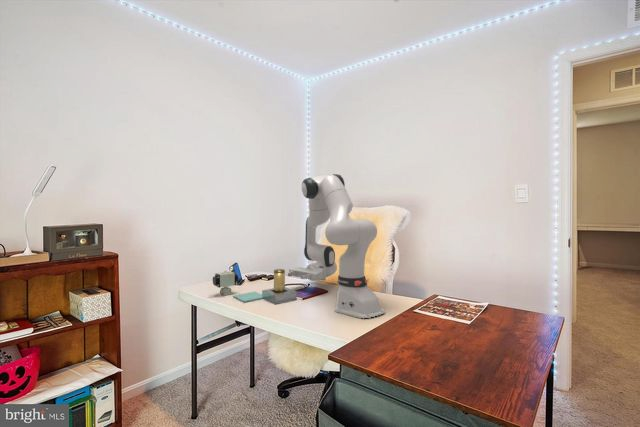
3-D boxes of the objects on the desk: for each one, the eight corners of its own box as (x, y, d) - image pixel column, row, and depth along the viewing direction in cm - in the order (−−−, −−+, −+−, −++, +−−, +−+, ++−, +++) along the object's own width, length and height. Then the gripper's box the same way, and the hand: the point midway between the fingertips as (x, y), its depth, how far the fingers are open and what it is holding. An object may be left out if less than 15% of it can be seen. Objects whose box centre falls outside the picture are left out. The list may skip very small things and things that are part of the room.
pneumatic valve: (238, 293, 170) (238, 270, 170) (216, 297, 163) (215, 273, 162) (233, 291, 174) (233, 268, 174) (211, 295, 167) (211, 271, 167)
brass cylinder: (286, 299, 160) (286, 270, 160) (277, 301, 157) (277, 271, 156) (281, 297, 164) (281, 268, 164) (271, 298, 161) (271, 270, 160)
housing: (296, 299, 160) (296, 291, 159) (275, 304, 152) (275, 295, 152) (283, 294, 169) (283, 286, 169) (262, 298, 161) (262, 290, 161)
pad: (266, 298, 162) (266, 296, 162) (244, 302, 154) (244, 301, 154) (255, 293, 171) (255, 291, 171) (233, 297, 164) (233, 295, 164)
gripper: (299, 263, 185) (281, 267, 175) (328, 268, 172) (309, 272, 161) (299, 274, 185) (281, 279, 175) (328, 280, 172) (309, 285, 161)
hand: (295, 276), depth 168 cm, fingers open, 8 cm apart
